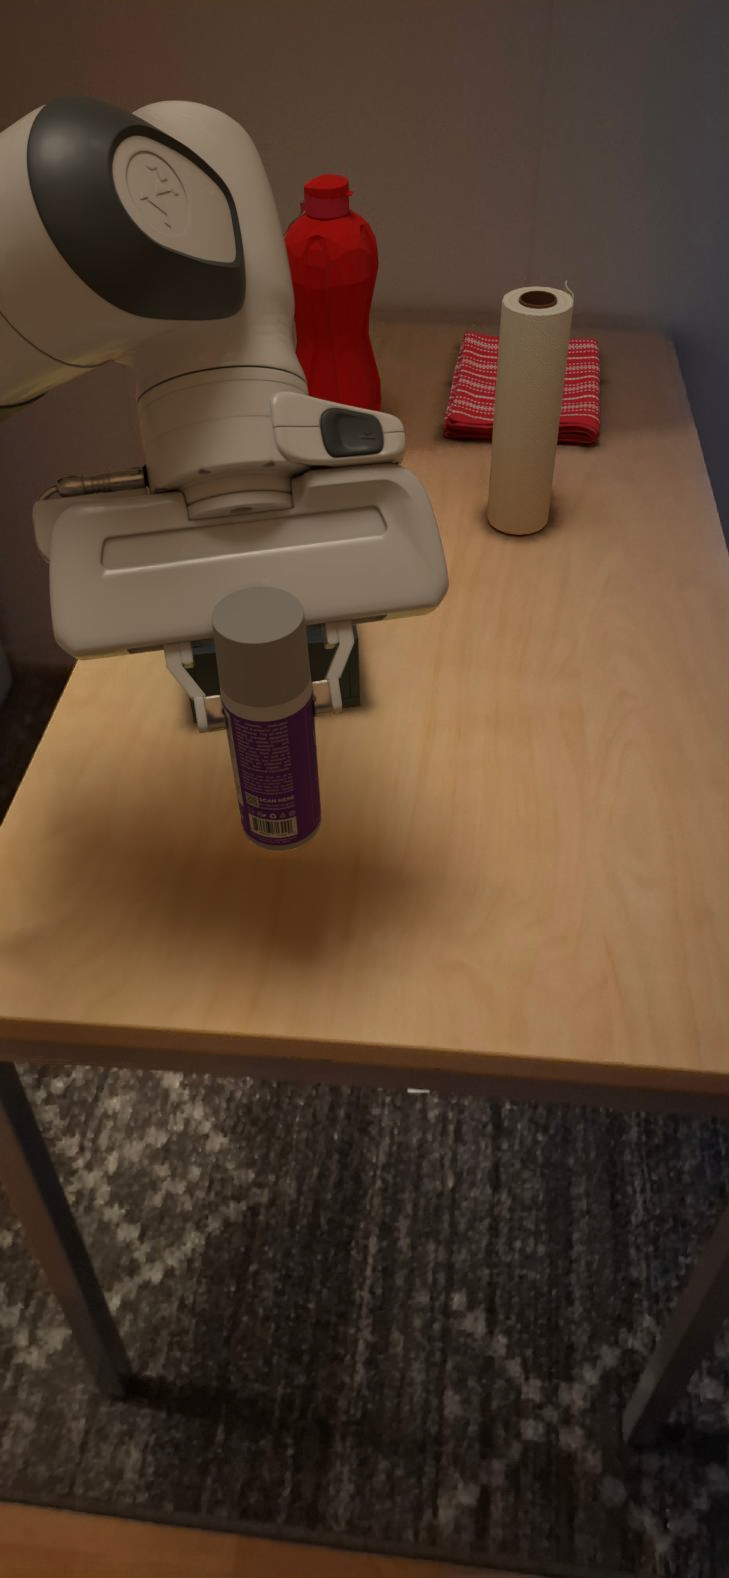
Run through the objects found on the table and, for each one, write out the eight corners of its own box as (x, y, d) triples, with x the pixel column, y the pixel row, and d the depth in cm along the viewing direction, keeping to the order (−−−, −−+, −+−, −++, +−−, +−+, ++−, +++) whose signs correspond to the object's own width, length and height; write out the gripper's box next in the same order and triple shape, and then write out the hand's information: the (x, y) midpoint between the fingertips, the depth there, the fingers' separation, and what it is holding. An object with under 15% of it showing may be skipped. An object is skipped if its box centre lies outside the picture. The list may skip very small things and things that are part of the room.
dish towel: (440, 441, 114) (441, 418, 112) (459, 346, 130) (460, 325, 128) (599, 450, 112) (603, 426, 110) (598, 352, 128) (601, 330, 126)
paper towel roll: (501, 542, 100) (520, 317, 85) (477, 510, 104) (490, 290, 89) (569, 527, 102) (600, 303, 86) (542, 496, 106) (567, 277, 90)
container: (338, 818, 61) (327, 611, 50) (279, 864, 59) (254, 658, 48) (283, 779, 63) (260, 573, 52) (224, 822, 61) (188, 616, 50)
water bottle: (296, 400, 121) (278, 159, 103) (387, 411, 119) (385, 165, 101) (270, 439, 115) (245, 190, 97) (365, 451, 113) (359, 197, 95)
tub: (193, 722, 84) (180, 655, 79) (192, 619, 93) (180, 553, 88) (360, 705, 85) (358, 638, 80) (342, 605, 94) (339, 539, 89)
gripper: (12, 462, 49) (58, 751, 50) (433, 415, 52) (472, 692, 52) (37, 496, 56) (78, 753, 56) (411, 453, 58) (447, 699, 59)
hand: (271, 723), depth 54 cm, fingers closed on container, 4 cm apart
